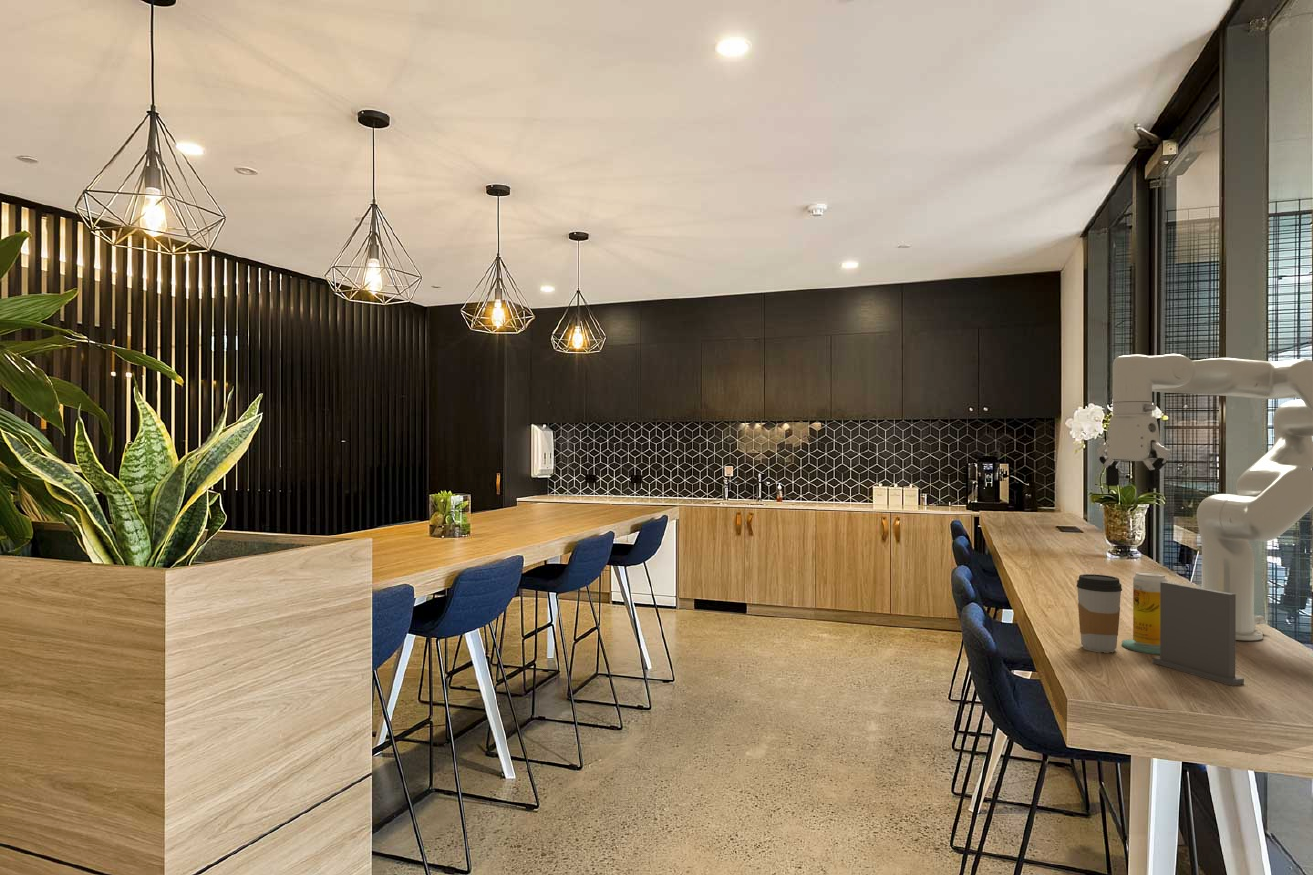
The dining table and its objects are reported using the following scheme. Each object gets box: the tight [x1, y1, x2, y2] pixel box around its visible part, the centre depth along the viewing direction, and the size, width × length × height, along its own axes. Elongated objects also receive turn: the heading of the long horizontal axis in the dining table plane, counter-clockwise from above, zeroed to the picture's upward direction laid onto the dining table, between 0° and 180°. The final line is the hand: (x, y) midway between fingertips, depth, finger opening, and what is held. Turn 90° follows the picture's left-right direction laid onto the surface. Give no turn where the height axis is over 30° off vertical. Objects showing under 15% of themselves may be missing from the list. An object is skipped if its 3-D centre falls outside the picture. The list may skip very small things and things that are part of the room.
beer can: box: [1132, 571, 1169, 648], centre depth 161 cm, size 6×6×15 cm
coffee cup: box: [1076, 573, 1123, 654], centre depth 161 cm, size 8×8×15 cm
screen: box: [1152, 581, 1245, 687], centre depth 144 cm, size 3×15×16 cm, turn 19°
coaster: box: [1121, 638, 1160, 656], centre depth 161 cm, size 10×10×1 cm
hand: (1131, 486), depth 172 cm, fingers open, 9 cm apart
